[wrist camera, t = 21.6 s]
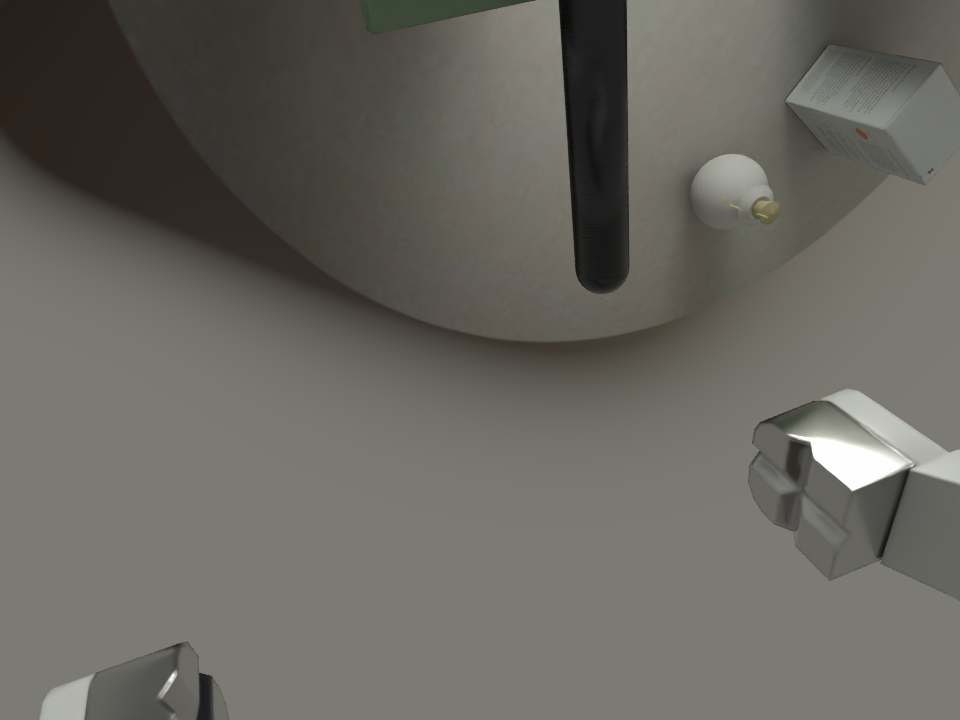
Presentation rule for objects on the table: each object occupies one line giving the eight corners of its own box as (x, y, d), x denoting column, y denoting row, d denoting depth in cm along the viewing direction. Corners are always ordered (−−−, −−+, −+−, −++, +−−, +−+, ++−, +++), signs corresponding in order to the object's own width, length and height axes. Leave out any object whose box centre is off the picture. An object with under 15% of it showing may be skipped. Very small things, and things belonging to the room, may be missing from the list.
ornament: (719, 219, 60) (798, 263, 52) (652, 208, 57) (725, 253, 49) (747, 152, 58) (835, 187, 50) (679, 136, 55) (761, 171, 47)
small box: (871, 98, 59) (982, 126, 51) (826, 153, 61) (927, 188, 52) (829, 40, 55) (943, 60, 46) (781, 100, 56) (884, 130, 48)
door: (720, 229, 29) (765, 253, 27) (427, 318, 26) (449, 354, 24) (773, -476, 17) (858, -534, 15) (264, -446, 15) (277, -512, 13)
